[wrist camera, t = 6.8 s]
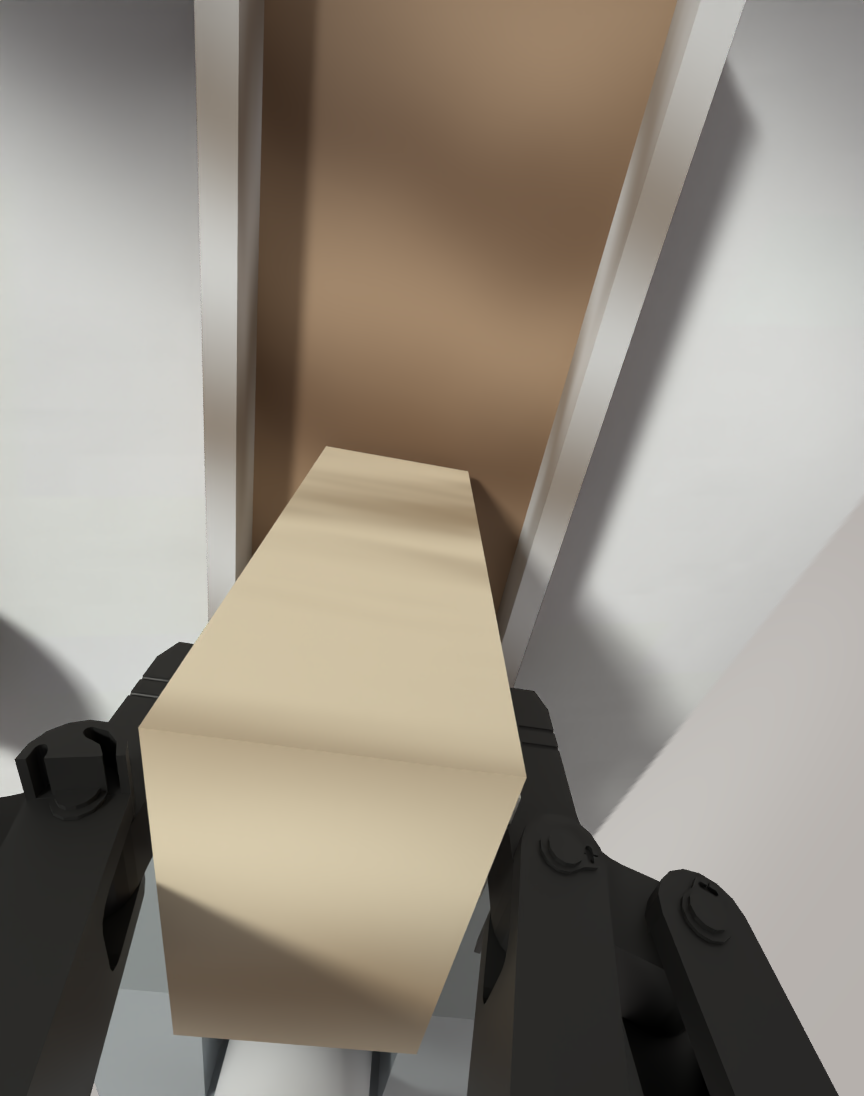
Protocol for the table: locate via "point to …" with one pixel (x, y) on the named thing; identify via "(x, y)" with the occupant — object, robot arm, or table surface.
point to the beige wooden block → (334, 767)
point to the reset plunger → (293, 1070)
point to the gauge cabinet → (195, 1062)
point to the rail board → (434, 247)
